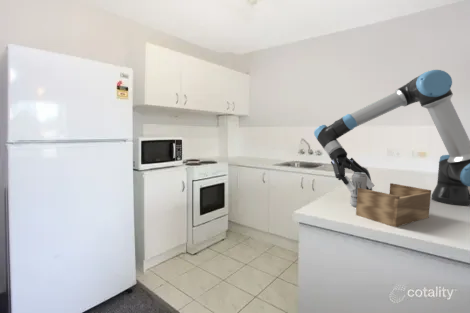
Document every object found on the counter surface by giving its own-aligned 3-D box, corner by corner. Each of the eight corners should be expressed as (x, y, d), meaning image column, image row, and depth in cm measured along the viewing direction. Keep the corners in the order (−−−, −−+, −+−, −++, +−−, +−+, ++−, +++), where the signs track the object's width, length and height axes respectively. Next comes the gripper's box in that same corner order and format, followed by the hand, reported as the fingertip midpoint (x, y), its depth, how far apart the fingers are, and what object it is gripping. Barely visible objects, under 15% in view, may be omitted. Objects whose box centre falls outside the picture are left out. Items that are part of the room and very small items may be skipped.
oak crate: (355, 214, 101) (357, 188, 100) (389, 207, 113) (391, 183, 112) (395, 227, 88) (397, 196, 87) (428, 217, 100) (431, 190, 99)
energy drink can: (348, 206, 113) (350, 172, 112) (352, 203, 118) (354, 171, 116) (362, 209, 109) (365, 174, 108) (366, 206, 114) (368, 173, 113)
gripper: (347, 156, 131) (373, 190, 120) (313, 157, 119) (338, 196, 107) (357, 146, 126) (385, 181, 115) (322, 146, 114) (350, 186, 102)
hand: (362, 188), depth 111 cm, fingers open, 13 cm apart
